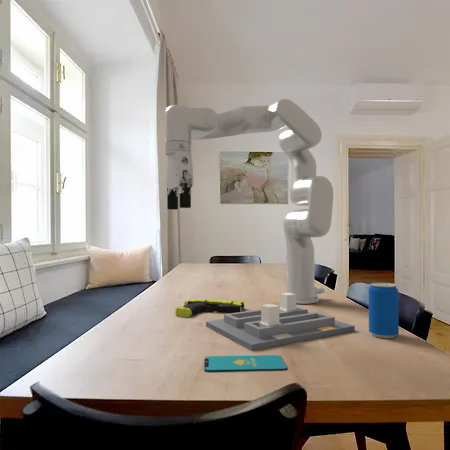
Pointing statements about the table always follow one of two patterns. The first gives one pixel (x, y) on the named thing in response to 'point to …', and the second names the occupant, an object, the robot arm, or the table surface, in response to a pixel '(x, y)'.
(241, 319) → the switch board
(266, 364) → the smartphone
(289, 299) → the tab
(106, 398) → the table surface
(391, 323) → the beverage can
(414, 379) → the table surface
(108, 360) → the table surface
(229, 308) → the stun gun
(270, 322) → the tab
